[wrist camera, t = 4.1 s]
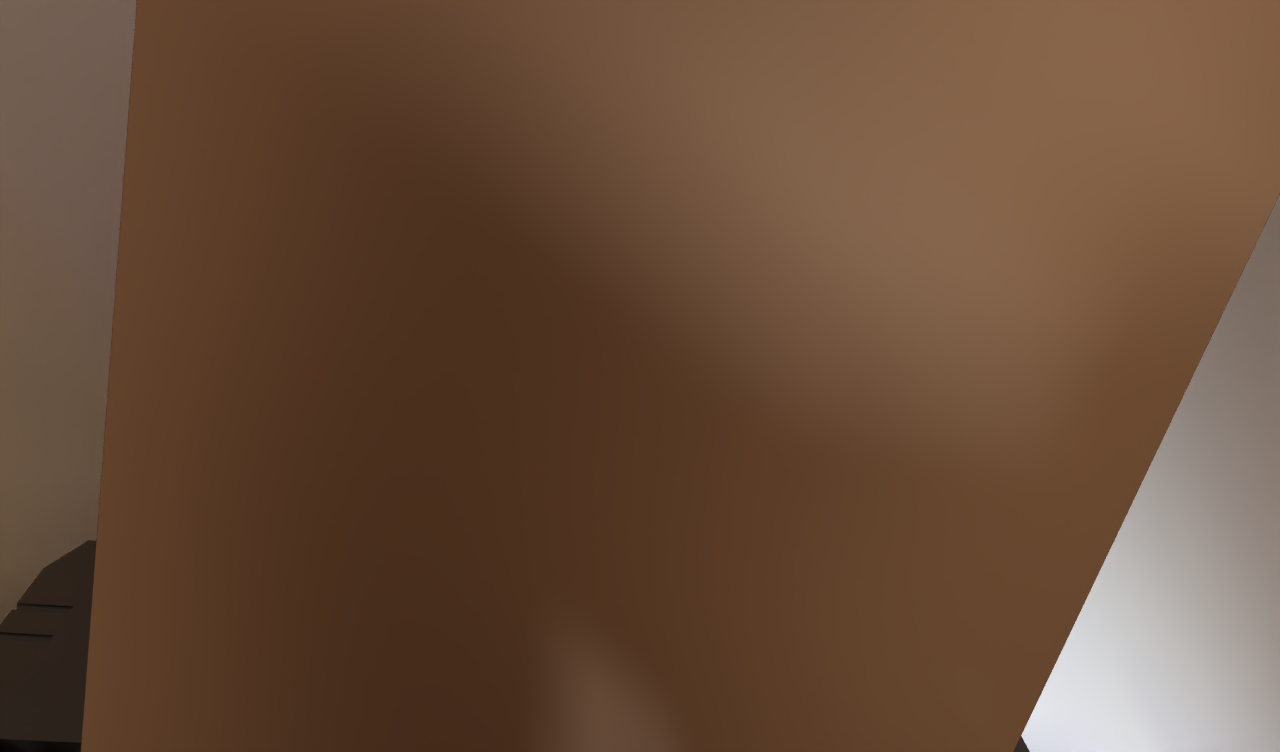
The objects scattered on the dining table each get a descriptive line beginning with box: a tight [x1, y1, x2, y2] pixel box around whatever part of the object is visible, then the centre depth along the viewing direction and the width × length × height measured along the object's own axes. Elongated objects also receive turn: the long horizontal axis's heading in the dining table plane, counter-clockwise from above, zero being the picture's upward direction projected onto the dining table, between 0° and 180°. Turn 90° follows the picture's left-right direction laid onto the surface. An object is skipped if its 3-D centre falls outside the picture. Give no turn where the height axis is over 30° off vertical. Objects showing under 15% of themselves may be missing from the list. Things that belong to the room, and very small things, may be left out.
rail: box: [81, 0, 1280, 752], centre depth 10 cm, size 6×20×6 cm, turn 166°
